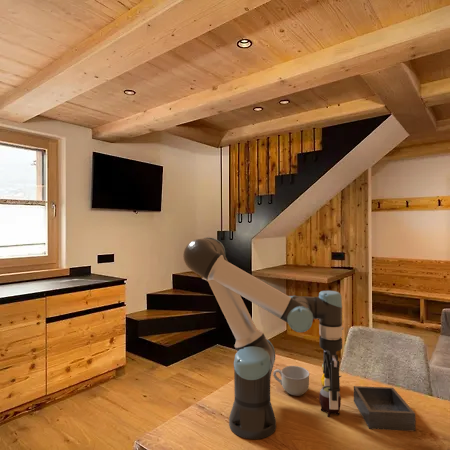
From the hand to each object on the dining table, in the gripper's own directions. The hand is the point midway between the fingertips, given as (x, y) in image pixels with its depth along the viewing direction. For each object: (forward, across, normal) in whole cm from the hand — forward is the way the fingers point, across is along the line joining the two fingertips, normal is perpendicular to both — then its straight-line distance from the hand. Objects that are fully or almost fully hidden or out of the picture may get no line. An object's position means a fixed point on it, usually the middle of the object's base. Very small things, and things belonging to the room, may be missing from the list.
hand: (331, 402), depth 116 cm
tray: (+3, 0, -17) cm, 17 cm away
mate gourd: (+4, 0, 0) cm, 4 cm away
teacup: (+4, +14, +12) cm, 19 cm away
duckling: (+4, +18, -3) cm, 19 cm away
